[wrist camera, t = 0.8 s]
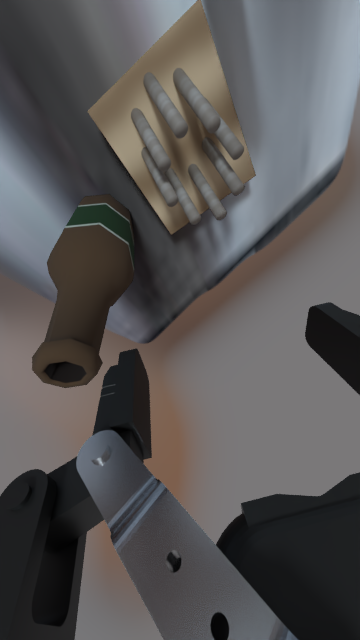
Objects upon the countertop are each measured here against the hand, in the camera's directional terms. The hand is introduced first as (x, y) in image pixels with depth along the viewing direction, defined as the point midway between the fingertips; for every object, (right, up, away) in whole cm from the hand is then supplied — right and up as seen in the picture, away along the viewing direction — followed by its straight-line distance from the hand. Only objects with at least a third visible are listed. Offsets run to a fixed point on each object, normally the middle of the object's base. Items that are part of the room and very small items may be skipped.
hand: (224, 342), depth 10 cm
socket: (-2, +21, +15) cm, 26 cm away
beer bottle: (-12, +14, +20) cm, 27 cm away
